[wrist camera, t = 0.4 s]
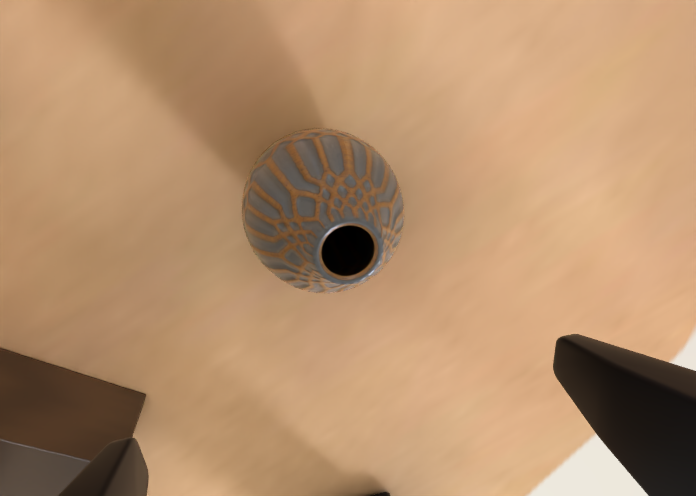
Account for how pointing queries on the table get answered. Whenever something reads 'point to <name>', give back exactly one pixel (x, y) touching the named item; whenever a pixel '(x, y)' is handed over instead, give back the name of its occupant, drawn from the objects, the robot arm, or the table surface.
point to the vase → (322, 210)
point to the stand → (55, 423)
